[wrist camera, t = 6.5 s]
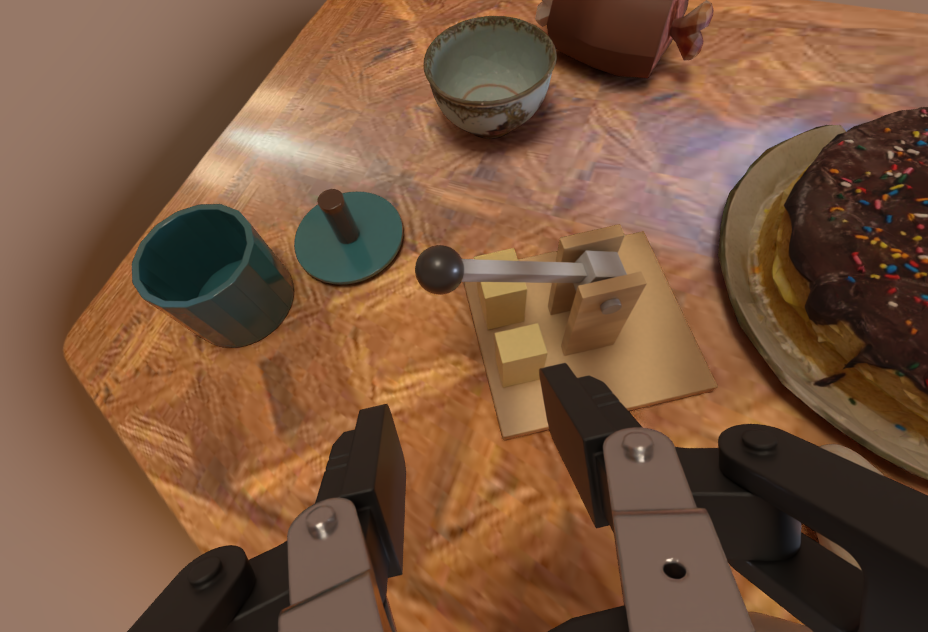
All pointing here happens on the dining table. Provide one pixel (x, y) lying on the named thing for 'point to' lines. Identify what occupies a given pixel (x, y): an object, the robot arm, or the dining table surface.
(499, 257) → the pale yellow oblong block
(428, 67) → the bowl
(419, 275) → the ball tipped lever
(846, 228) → the cake
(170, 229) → the crock
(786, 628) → the gray cylinder
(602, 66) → the meat
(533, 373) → the yellow rectangular block
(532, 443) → the dining table surface
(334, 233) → the crock lid
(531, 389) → the wooden lever switch base
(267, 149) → the dining table surface
